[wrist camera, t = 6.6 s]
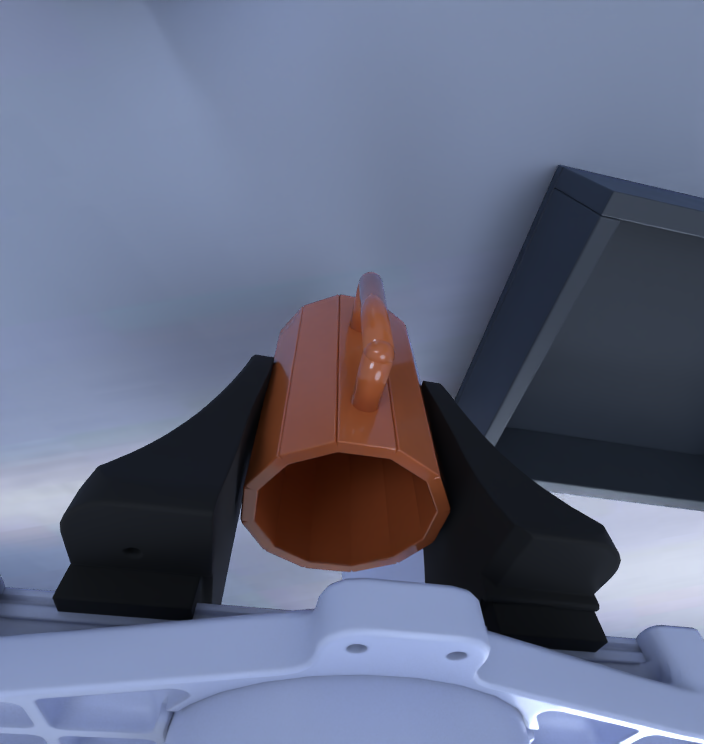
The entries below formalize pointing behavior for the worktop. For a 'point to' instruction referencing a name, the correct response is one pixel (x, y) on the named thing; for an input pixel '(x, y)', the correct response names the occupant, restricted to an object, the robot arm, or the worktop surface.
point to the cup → (345, 441)
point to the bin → (600, 346)
